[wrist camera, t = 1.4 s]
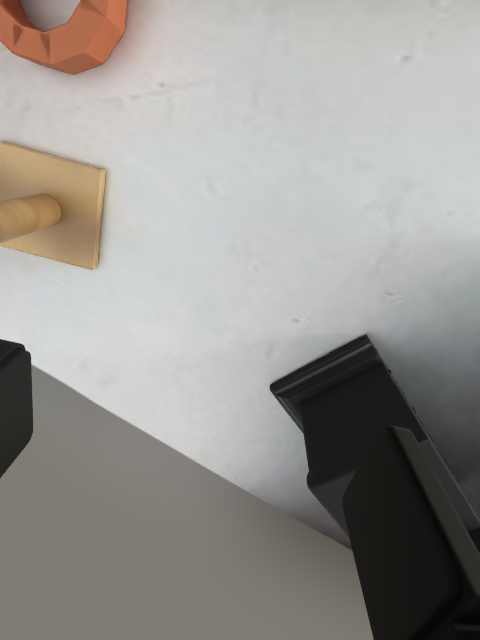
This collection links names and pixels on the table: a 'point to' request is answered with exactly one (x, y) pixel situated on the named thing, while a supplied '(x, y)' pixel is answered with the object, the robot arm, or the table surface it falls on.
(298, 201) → the table surface
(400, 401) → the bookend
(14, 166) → the ring stand
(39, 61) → the ring
